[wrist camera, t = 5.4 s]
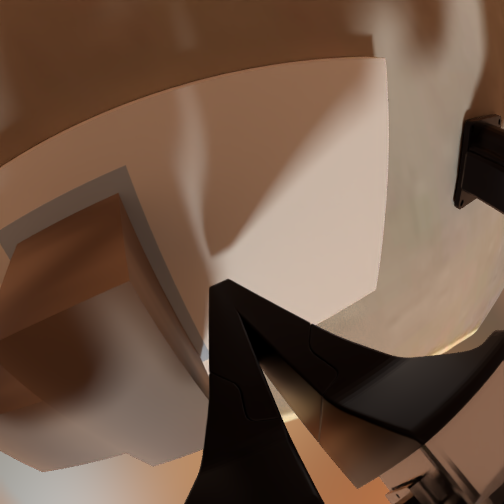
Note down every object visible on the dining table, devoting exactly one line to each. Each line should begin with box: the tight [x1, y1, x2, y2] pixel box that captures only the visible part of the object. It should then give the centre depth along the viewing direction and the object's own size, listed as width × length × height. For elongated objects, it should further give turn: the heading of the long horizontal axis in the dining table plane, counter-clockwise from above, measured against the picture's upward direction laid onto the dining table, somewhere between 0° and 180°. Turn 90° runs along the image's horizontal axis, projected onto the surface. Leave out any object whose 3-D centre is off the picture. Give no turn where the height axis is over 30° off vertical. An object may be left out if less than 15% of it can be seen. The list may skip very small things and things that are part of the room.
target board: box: [0, 57, 389, 376], centre depth 10 cm, size 18×12×1 cm, turn 100°
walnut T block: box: [0, 193, 209, 472], centre depth 8 cm, size 8×8×4 cm
